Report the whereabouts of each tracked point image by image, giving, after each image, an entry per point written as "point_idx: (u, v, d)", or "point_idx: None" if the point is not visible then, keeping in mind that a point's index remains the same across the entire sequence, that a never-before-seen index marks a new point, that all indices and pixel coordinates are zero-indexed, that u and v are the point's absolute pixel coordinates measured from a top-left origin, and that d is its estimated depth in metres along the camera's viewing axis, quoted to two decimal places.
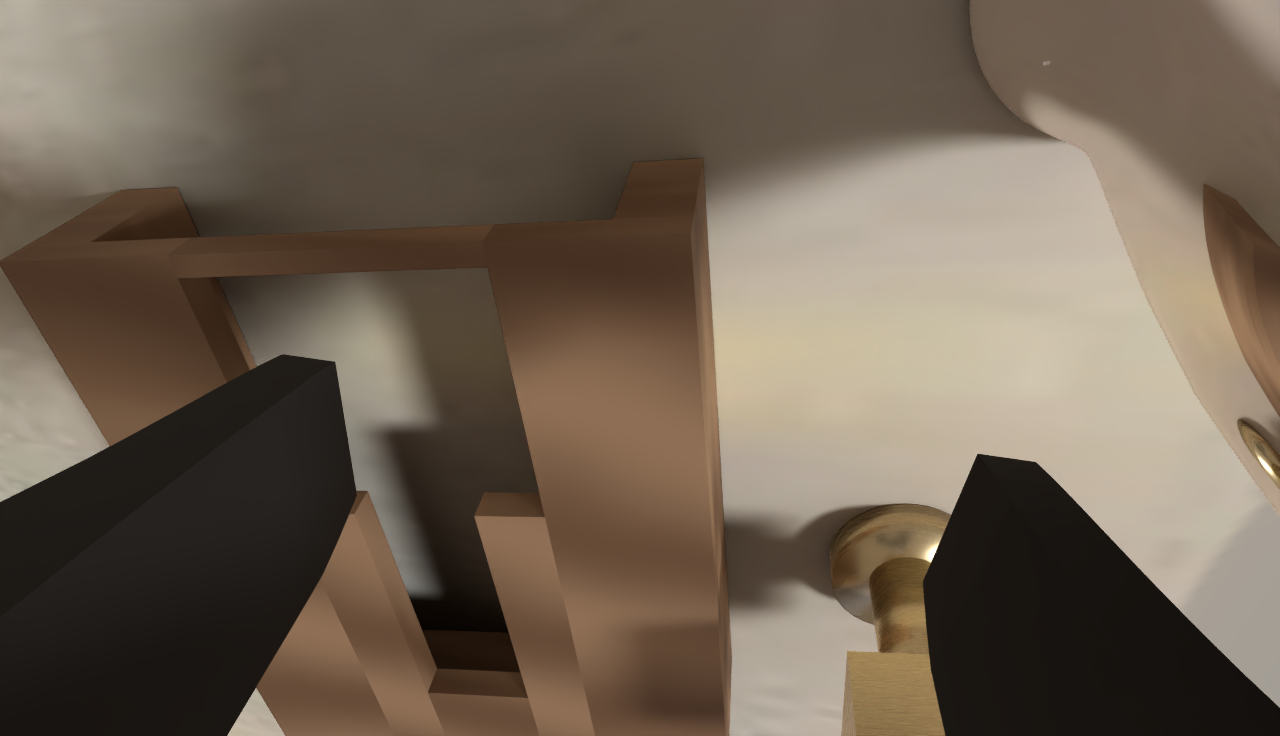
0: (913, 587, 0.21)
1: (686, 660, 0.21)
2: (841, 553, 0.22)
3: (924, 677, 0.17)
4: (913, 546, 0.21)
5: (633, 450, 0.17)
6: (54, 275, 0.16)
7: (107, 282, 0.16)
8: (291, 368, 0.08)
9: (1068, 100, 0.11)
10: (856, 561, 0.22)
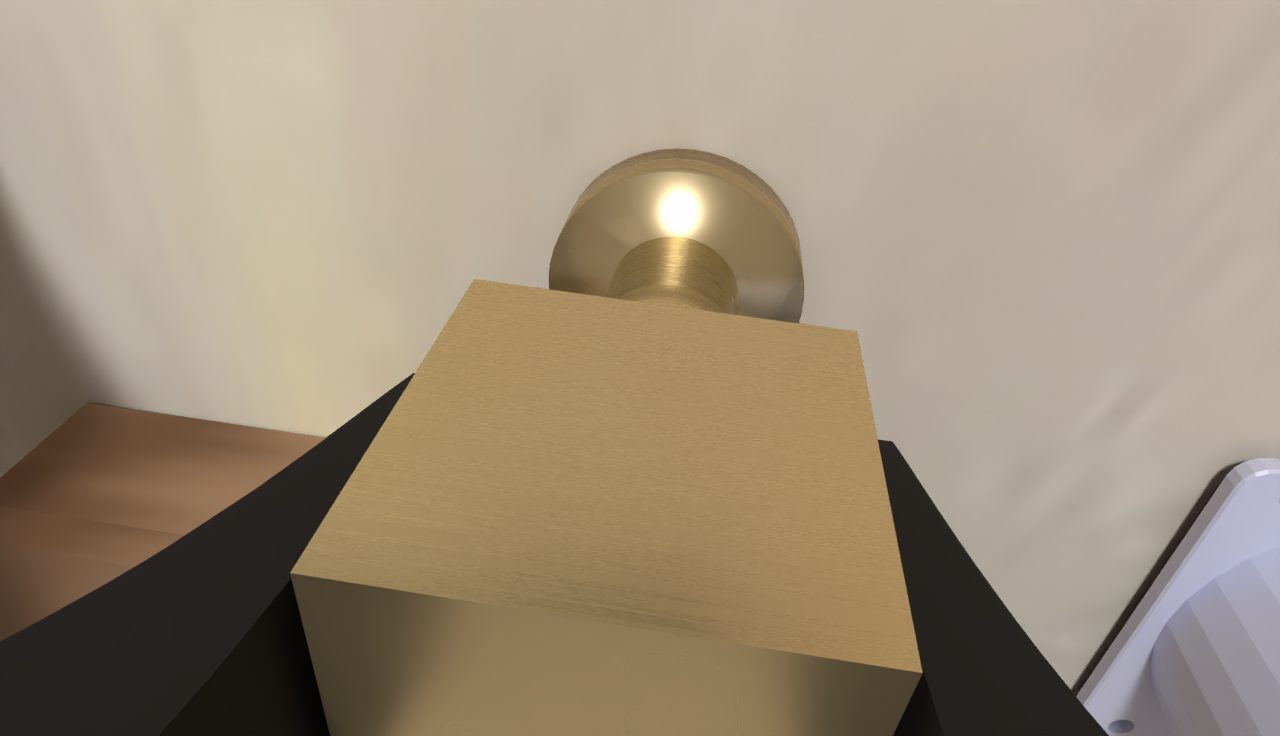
0: None
1: None
2: None
3: None
4: (585, 279, 0.13)
5: None
6: None
7: None
8: None
9: None
10: None
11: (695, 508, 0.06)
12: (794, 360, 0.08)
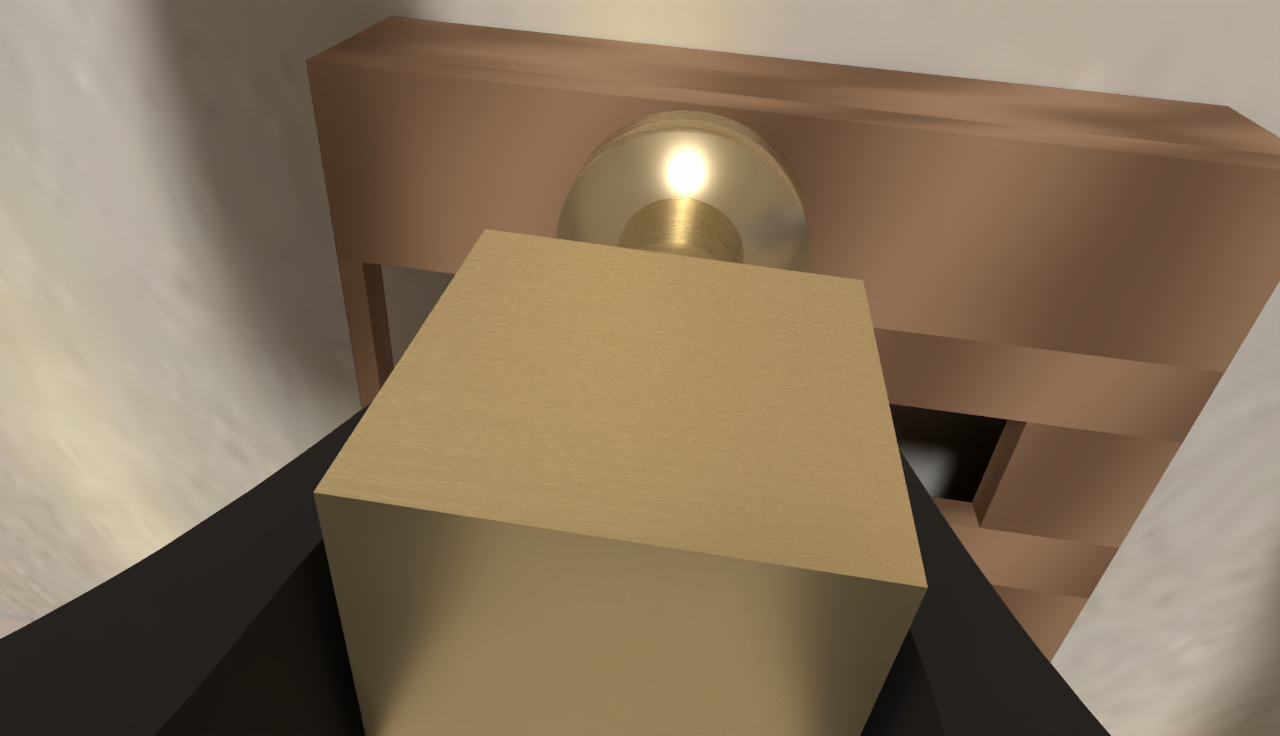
0: None
1: (1000, 191, 0.13)
2: None
3: None
4: (592, 240, 0.13)
5: None
6: None
7: None
8: None
9: None
10: None
11: (706, 439, 0.06)
12: (802, 306, 0.08)
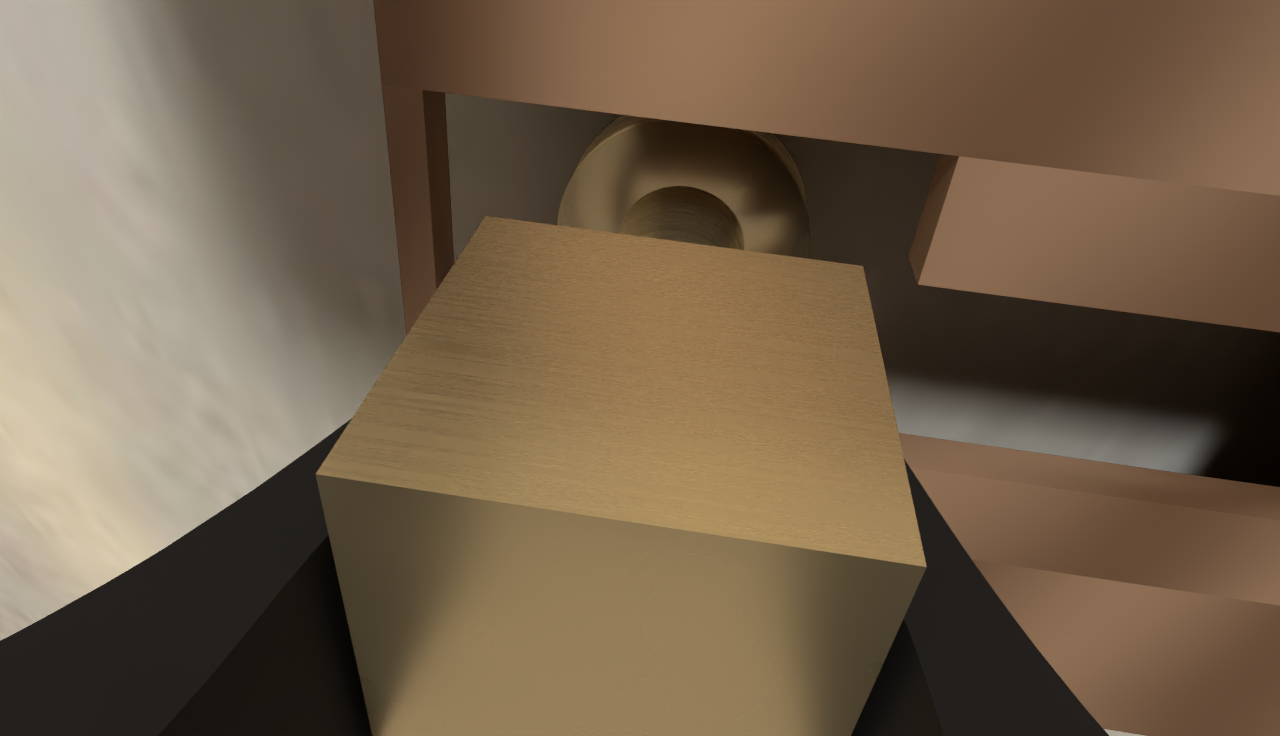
0: None
1: None
2: None
3: None
4: (592, 229, 0.13)
5: None
6: None
7: None
8: None
9: None
10: None
11: (706, 422, 0.06)
12: (801, 290, 0.08)
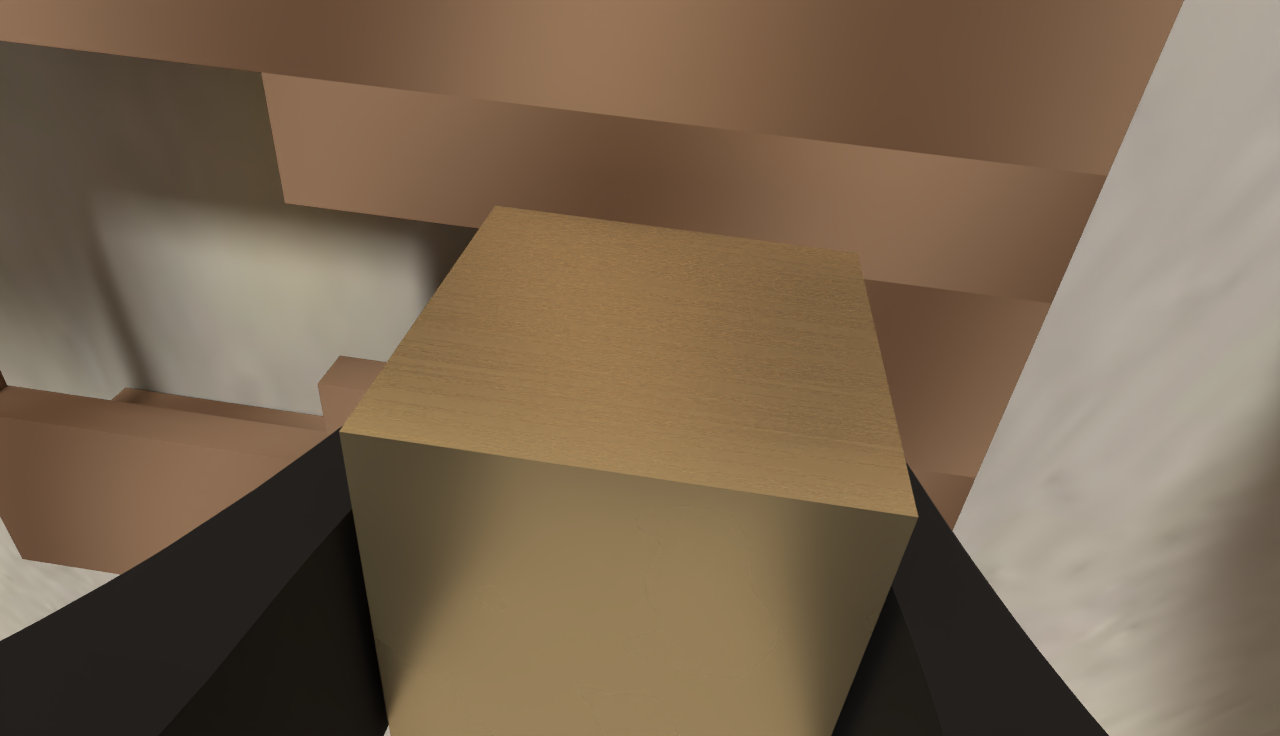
0: None
1: None
2: None
3: None
4: None
5: None
6: (19, 522, 0.15)
7: (7, 480, 0.15)
8: None
9: None
10: None
11: (708, 389, 0.06)
12: (799, 275, 0.08)
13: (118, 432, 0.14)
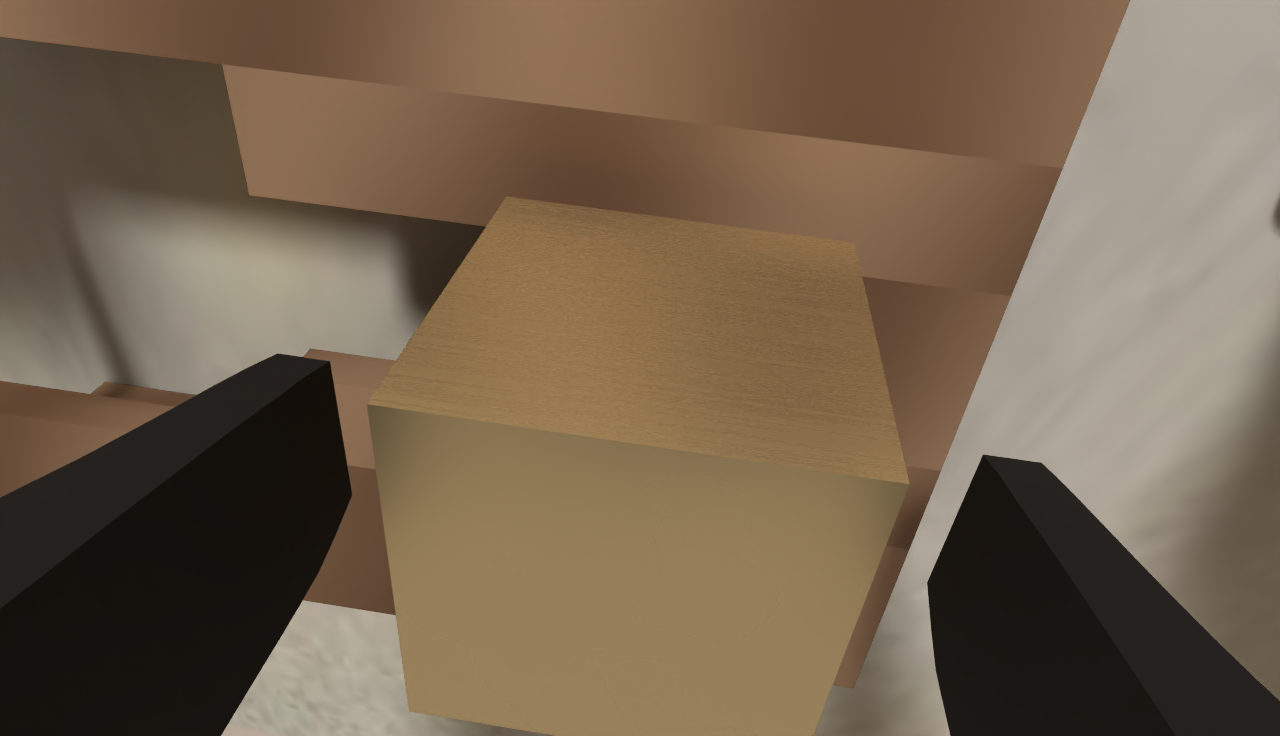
0: None
1: None
2: None
3: None
4: None
5: None
6: None
7: None
8: (286, 368, 0.08)
9: None
10: None
11: (712, 368, 0.07)
12: (797, 263, 0.08)
13: (91, 424, 0.14)
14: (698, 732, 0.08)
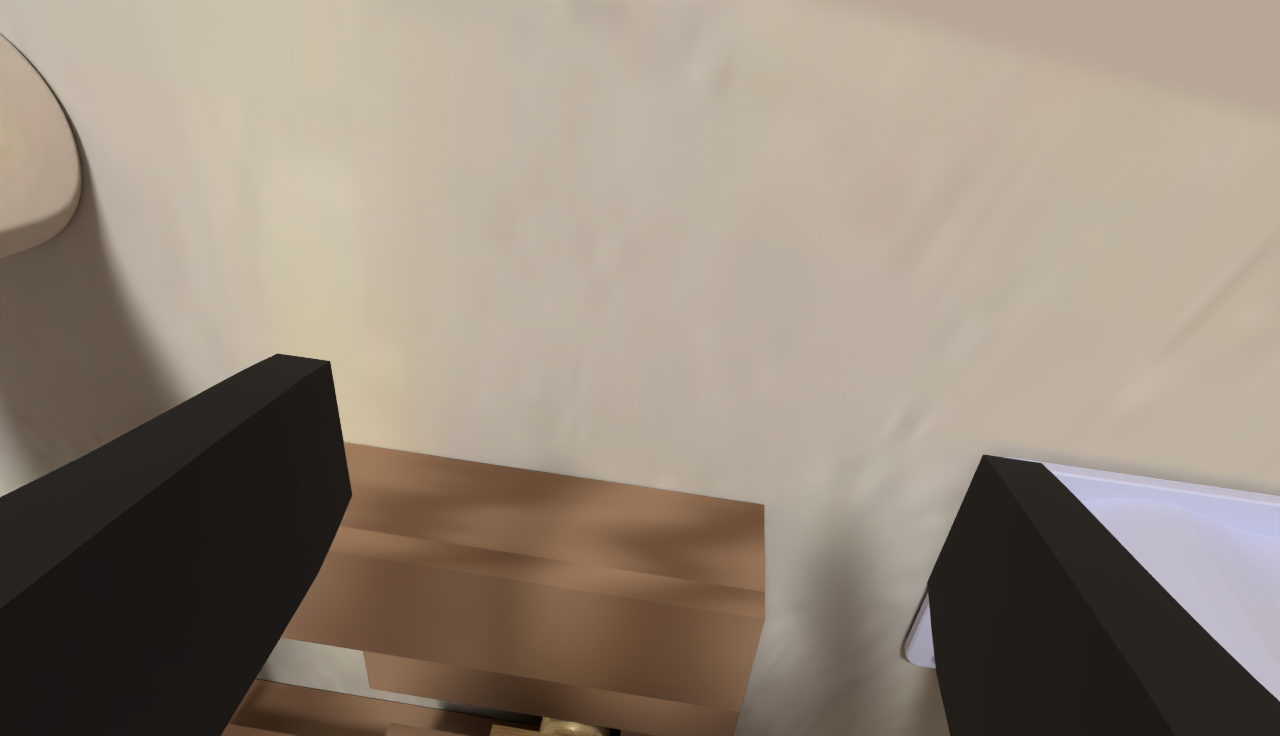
0: None
1: (552, 609, 0.19)
2: None
3: None
4: None
5: None
6: None
7: None
8: (285, 368, 0.08)
9: None
10: None
11: None
12: None
13: None
14: None
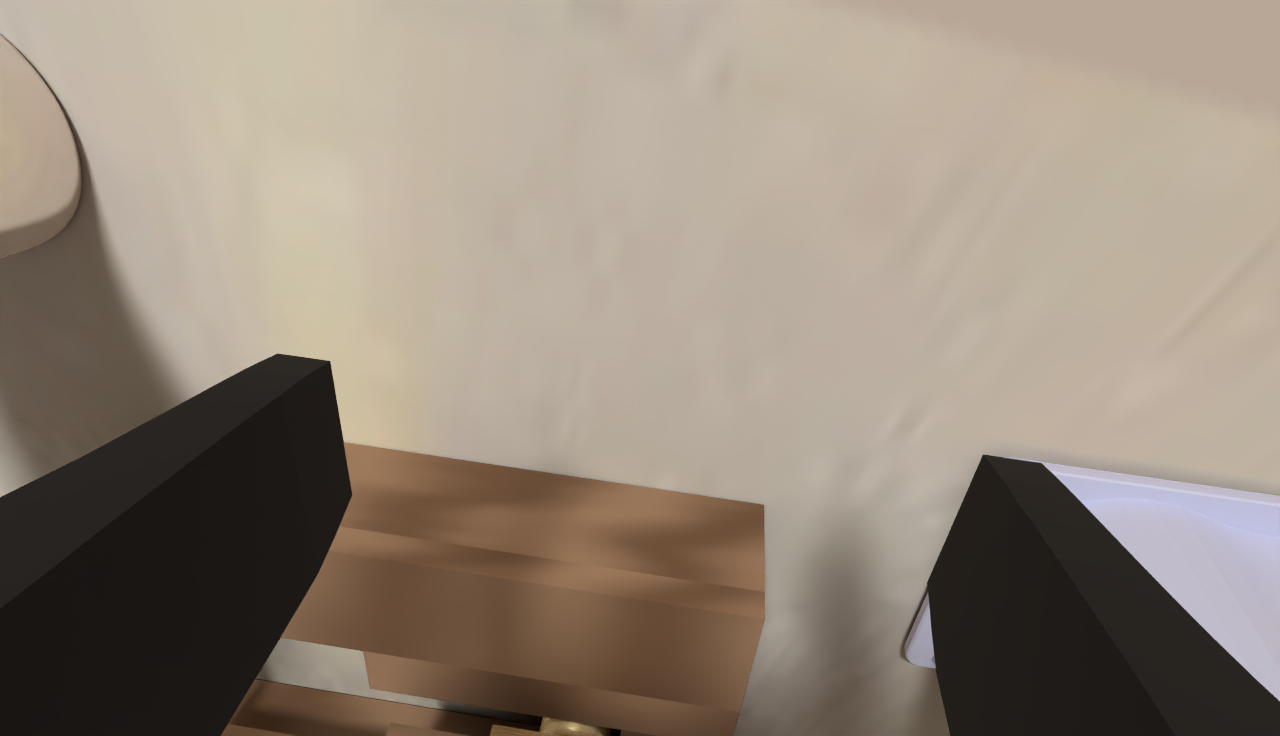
0: None
1: (552, 609, 0.19)
2: None
3: None
4: None
5: None
6: None
7: None
8: (286, 368, 0.08)
9: None
10: None
11: None
12: None
13: None
14: None
